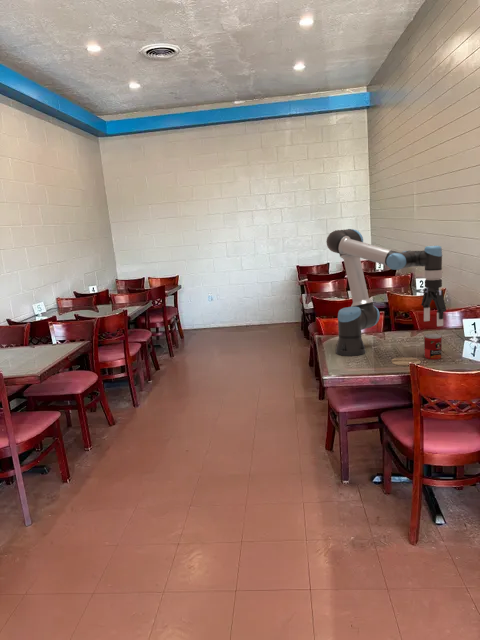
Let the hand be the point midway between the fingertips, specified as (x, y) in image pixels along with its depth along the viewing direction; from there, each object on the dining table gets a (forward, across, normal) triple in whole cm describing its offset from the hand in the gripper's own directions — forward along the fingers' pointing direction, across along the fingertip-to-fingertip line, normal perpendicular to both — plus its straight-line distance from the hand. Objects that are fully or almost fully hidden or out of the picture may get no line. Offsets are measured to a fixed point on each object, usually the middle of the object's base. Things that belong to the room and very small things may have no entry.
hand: (433, 323), depth 228 cm
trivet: (+17, -4, +15) cm, 23 cm away
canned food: (+17, 0, 0) cm, 17 cm away
